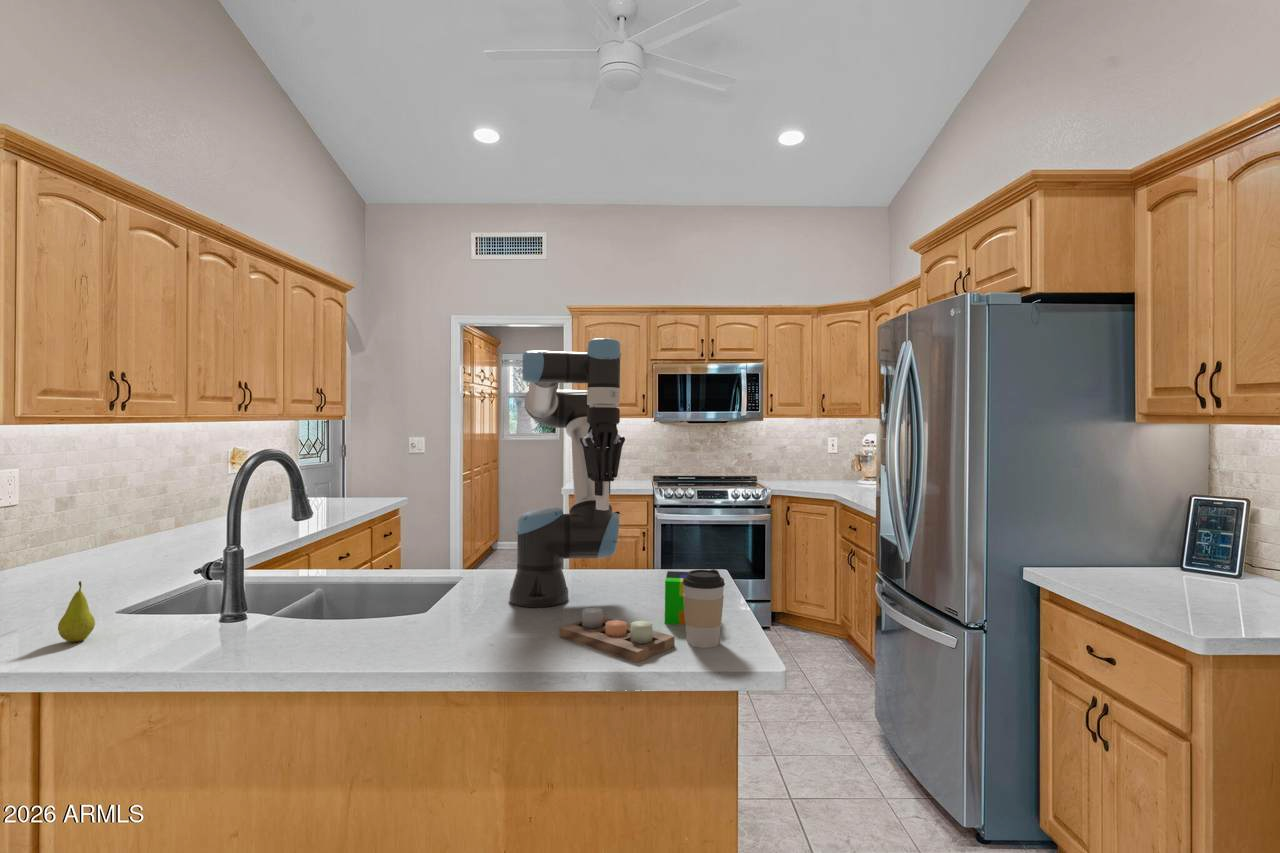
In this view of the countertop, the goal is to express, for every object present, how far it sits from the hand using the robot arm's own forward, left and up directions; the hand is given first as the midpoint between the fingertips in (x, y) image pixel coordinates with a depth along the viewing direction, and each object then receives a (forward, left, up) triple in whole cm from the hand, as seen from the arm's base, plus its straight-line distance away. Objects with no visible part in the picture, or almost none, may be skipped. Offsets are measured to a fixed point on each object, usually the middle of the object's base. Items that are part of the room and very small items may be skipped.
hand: (602, 509), depth 144 cm
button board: (+10, -6, -26) cm, 29 cm away
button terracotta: (+10, -6, -26) cm, 29 cm away
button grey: (+3, -6, -25) cm, 26 cm away
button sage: (+17, -6, -25) cm, 31 cm away
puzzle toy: (+12, +17, -27) cm, 34 cm away
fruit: (-73, -80, -27) cm, 112 cm away
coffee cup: (+24, +6, -27) cm, 36 cm away
